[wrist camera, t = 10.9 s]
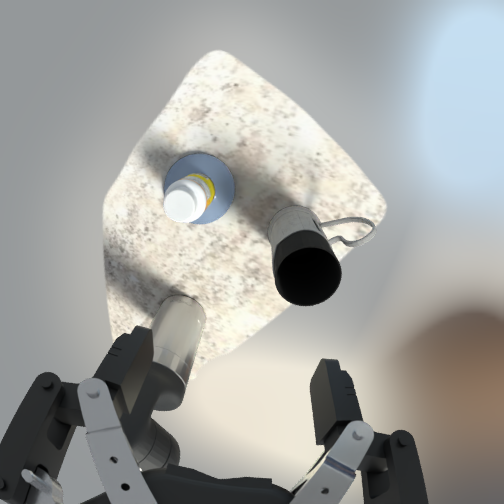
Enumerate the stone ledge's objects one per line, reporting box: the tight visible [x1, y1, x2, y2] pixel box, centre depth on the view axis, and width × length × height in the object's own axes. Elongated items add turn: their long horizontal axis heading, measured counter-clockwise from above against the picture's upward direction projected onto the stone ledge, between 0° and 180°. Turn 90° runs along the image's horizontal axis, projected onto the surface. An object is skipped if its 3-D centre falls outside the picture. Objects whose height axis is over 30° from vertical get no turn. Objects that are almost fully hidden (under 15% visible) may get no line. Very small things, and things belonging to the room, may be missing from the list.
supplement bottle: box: [163, 173, 215, 223], centre depth 35 cm, size 6×6×10 cm
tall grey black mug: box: [268, 206, 377, 306], centre depth 35 cm, size 9×14×15 cm, turn 122°
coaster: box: [164, 154, 235, 224], centre depth 40 cm, size 11×11×1 cm
